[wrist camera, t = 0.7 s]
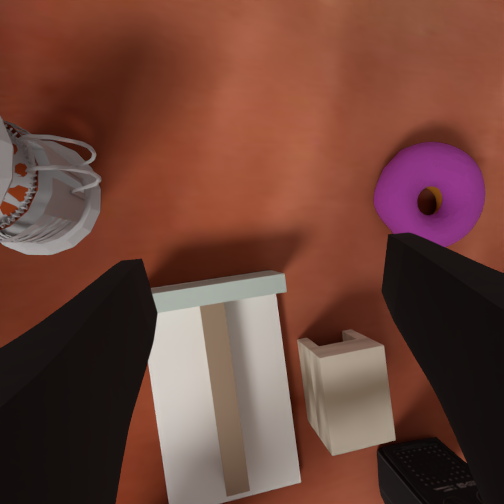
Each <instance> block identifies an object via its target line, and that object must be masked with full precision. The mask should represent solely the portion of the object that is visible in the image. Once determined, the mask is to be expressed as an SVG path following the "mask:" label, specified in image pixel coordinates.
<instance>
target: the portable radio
mask: <svg viewBox="0 0 504 504" xmlns="http://www.w3.org/2000/svg"><path fill="white" fill-rule="evenodd" d="M377 460H378V479H379V488H380V493H381V496H382V498H383V501H384V503H385V504H483V501H482V499H481V496H480V494H479V491H478V488H477V486H476V483H475V481H474V478H473V476H472V473H471V471H470V469H469V466H468V464H467V463H466V462H464V461H463V460H462V459H461V458H460V457H458V456H457V455H456V454H455V453H454V452H453V451H451V450H450V449H449V448H448V447H447V446H446V445H445V444H443V443H442V442H441V441H440V440H439V439H438V438H437V437H434V438H428V439H422V440H416V441H410V442H405V443H400V444H395V445H390V446H385V447H383V448H380V449H379V450H378V451H377Z"/></svg>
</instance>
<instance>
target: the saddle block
mask: <svg viewBox="0 0 504 504" xmlns="http://www.w3.org/2000/svg"><path fill="white" fill-rule="evenodd" d="M342 336H343V342H339V343H334V344H329V345H324V346H318V345H316V344H315V343H314V342H312V341H311V340H310V339H308V338H302V339H297V342H298V350H299V358H300V365H301V373H302V380H303V388H304V395H305V403H306V411H307V418H308V422H309V423H310V425H311V426H312V427H313V429H314V430H315V432H316V433H317V435H318V436H319V438H320V439H321V440H322V442H323V443H324V445H325V446H326V448H327V449H328V451H329V452H330V453H331V455H332V456H335V455H339V454H343V453H347V452H351V451H355V450H359V449H363V448H367V447H371V446H375V445H379V444H383V443H387V442H391V441H395V440H396V439H395V431H394V423H393V414H392V406H391V398H390V390H389V382H388V374H387V366H386V358H385V350H384V345H382V344H380V343H378V342H376V341H374V340H372V339H370V338H368V337H366V336H364V335H362V334H360V333H358V332H356V331H354V330H352V329H350V330H345V331H342Z"/></svg>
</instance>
